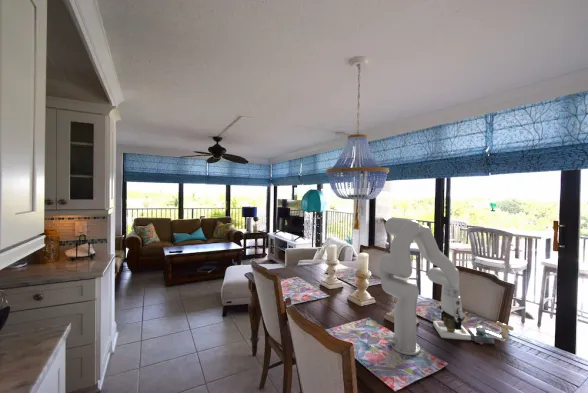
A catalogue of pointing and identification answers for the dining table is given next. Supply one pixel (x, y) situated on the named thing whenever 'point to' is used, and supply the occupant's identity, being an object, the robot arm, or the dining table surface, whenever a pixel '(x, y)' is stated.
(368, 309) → the dining table surface
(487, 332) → the crank
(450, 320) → the cup
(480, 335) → the crank base
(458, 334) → the tray
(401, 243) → the robot arm
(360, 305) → the dining table surface
